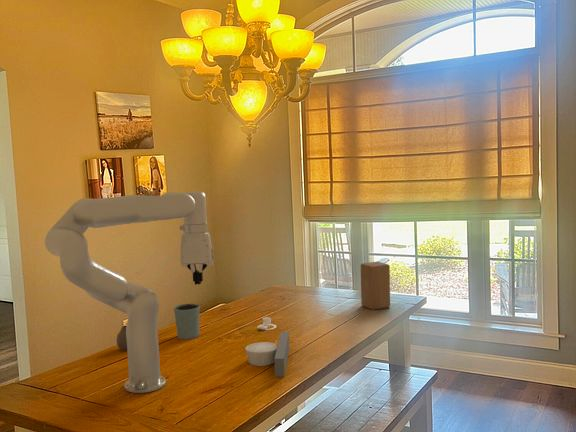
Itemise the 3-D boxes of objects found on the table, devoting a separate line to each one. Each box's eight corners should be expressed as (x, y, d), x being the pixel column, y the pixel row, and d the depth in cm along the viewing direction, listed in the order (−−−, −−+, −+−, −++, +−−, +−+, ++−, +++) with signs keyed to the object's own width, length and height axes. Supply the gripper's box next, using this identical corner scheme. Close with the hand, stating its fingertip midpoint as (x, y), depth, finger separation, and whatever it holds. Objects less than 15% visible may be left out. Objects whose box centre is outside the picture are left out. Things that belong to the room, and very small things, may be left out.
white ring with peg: (261, 332, 233) (261, 322, 233) (252, 327, 240) (251, 318, 240) (280, 328, 238) (279, 318, 238) (270, 324, 245) (269, 314, 244)
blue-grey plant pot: (176, 341, 225) (174, 311, 224) (174, 333, 235) (172, 304, 233) (202, 338, 228) (201, 308, 226) (199, 330, 237) (198, 302, 236)
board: (284, 376, 185) (283, 358, 184) (275, 376, 185) (274, 358, 184) (289, 347, 213) (288, 331, 212) (281, 347, 213) (280, 331, 212)
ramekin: (242, 358, 203) (241, 344, 202) (273, 354, 206) (272, 340, 206) (250, 369, 192) (249, 354, 192) (282, 364, 196) (281, 349, 195)
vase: (129, 344, 222) (127, 322, 221) (140, 348, 218) (138, 325, 217) (113, 349, 217) (112, 327, 216) (124, 353, 213) (122, 330, 212)
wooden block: (360, 305, 267) (359, 263, 265) (378, 302, 271) (377, 260, 269) (372, 310, 258) (371, 266, 256) (391, 307, 262) (390, 264, 260)
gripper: (170, 231, 187) (173, 286, 189) (215, 230, 186) (218, 285, 188) (176, 228, 195) (178, 281, 197) (220, 227, 194) (222, 280, 196)
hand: (198, 283), depth 192 cm, fingers closed
